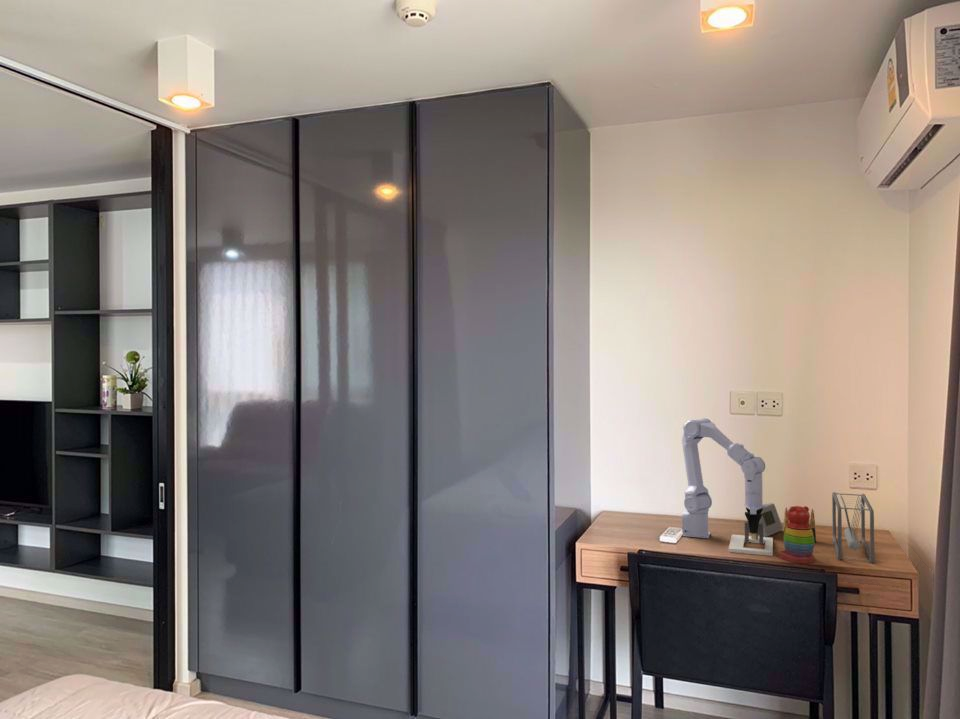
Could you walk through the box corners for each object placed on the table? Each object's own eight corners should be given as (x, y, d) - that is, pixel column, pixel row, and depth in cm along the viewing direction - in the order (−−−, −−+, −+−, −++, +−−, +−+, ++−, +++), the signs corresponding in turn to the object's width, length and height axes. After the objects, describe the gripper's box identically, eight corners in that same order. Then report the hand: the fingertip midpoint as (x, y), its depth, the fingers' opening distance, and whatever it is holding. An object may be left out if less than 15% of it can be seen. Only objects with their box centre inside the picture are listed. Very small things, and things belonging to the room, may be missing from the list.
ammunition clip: (784, 540, 254) (783, 507, 254) (783, 539, 256) (783, 506, 256) (816, 542, 251) (815, 509, 251) (815, 541, 253) (814, 508, 253)
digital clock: (763, 539, 256) (763, 510, 256) (743, 534, 264) (742, 506, 263) (790, 533, 265) (790, 505, 264) (769, 528, 272) (769, 501, 272)
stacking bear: (808, 554, 236) (807, 502, 236) (822, 563, 226) (821, 509, 225) (776, 555, 236) (775, 502, 236) (788, 564, 226) (788, 509, 226)
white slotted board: (728, 551, 240) (728, 534, 240) (732, 537, 259) (731, 521, 259) (772, 556, 235) (772, 537, 235) (772, 541, 253) (772, 524, 253)
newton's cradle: (832, 538, 256) (832, 490, 256) (864, 541, 252) (864, 492, 251) (838, 561, 228) (837, 507, 228) (874, 564, 224) (874, 510, 224)
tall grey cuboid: (744, 542, 245) (744, 522, 245) (745, 540, 247) (744, 521, 247) (763, 544, 242) (762, 524, 242) (763, 542, 244) (763, 522, 244)
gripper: (765, 496, 236) (766, 536, 236) (766, 489, 249) (766, 526, 250) (743, 495, 239) (743, 534, 239) (745, 487, 252) (745, 525, 252)
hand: (754, 530), depth 244 cm, fingers open, 7 cm apart
